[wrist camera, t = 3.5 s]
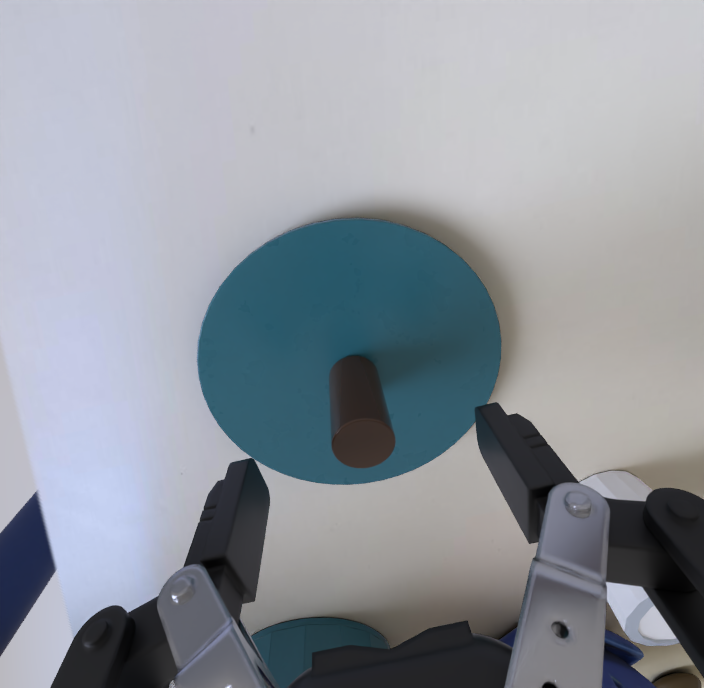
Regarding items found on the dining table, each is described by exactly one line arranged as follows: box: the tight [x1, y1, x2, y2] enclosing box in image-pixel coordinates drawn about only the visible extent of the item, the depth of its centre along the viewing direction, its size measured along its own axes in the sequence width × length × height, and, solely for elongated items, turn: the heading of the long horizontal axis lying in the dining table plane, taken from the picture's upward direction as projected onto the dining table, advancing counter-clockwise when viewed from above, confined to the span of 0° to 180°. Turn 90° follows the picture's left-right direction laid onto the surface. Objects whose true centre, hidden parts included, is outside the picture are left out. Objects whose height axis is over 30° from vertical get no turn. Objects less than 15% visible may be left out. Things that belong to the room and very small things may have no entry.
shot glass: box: [579, 471, 680, 646], centre depth 22 cm, size 7×7×7 cm
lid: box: [197, 218, 501, 485], centre depth 16 cm, size 15×15×6 cm
